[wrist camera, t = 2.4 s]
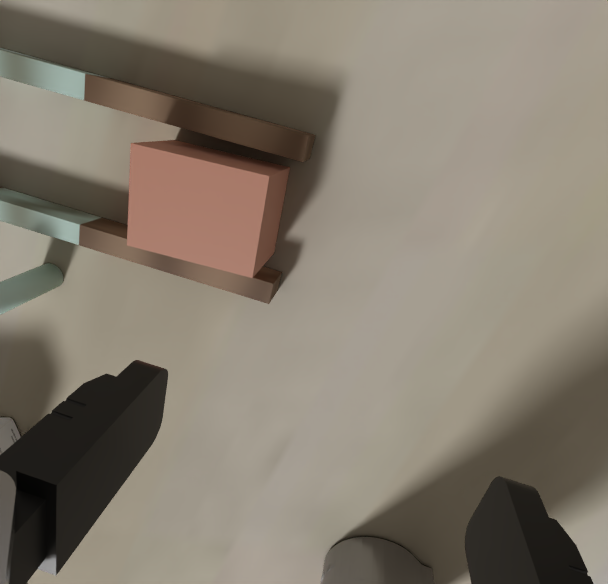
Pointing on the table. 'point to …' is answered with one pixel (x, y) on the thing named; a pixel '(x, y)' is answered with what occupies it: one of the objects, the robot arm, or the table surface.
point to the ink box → (7, 433)
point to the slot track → (159, 108)
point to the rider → (204, 205)
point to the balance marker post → (28, 286)
